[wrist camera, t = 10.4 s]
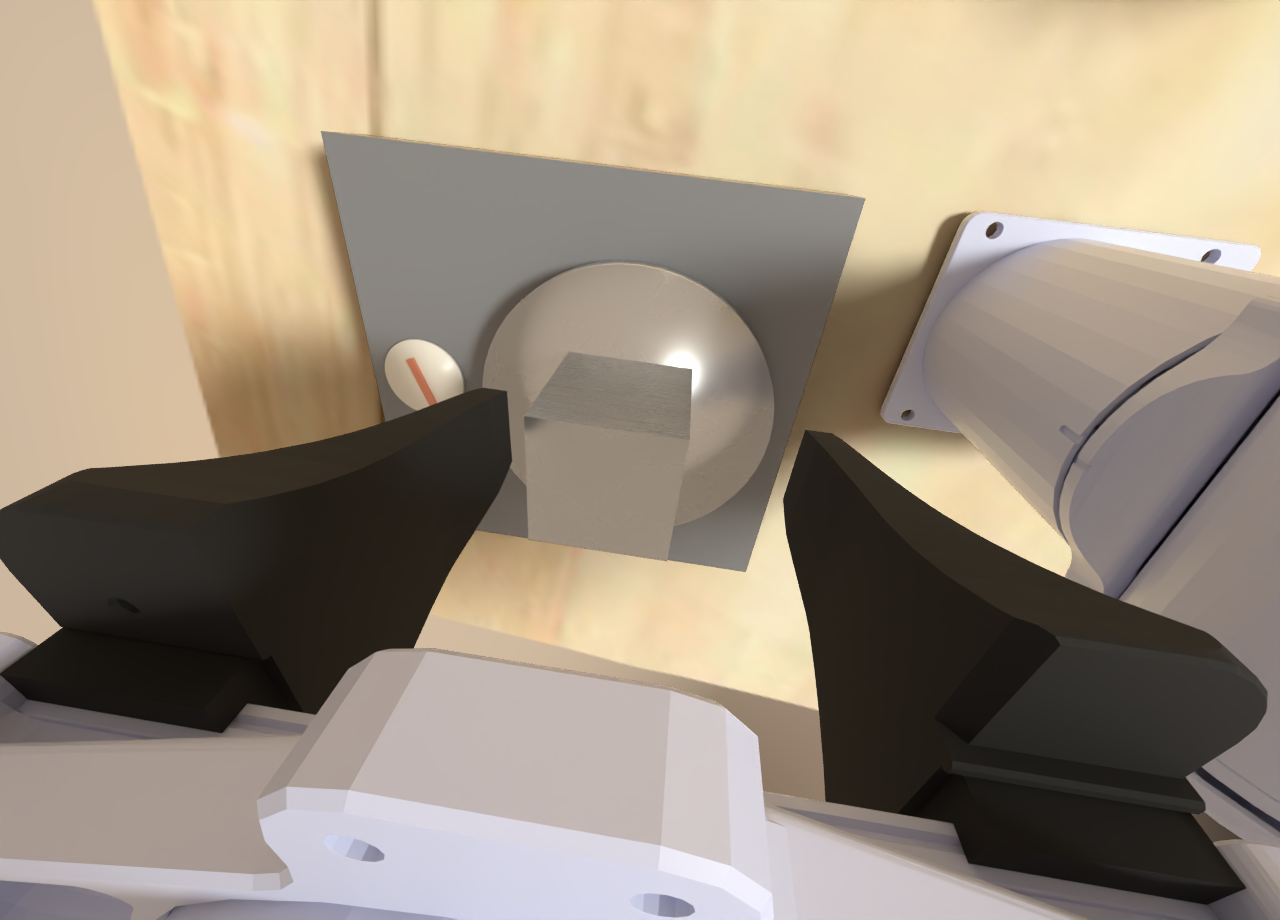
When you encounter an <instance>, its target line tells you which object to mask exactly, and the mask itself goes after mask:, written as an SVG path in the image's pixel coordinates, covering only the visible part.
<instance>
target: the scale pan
mask: <svg viewBox="0 0 1280 920" xmlns="http://www.w3.org/2000/svg"><path fill="white" fill-rule="evenodd" d="M568 352H575V353H582V354H589V355H597V356H604V357H611V358H618V359H625V360H632V361H639V362H647V363H654V364H661V365H668V366H675V367H682V368H690V369H693V373H692V396H691V420H690V441H689V446H688V452H687V457H686V462H685V468H684V473H683V478H682V484H681V489H680V494H679V500H678V505H677V510H676V516H675V521H674V526H677V525H681V524H684V523H687V522H690V521H693V520H695V519H697V518H700V517H702V516H704V515H706V514H708V513H710V512H712V511H713V510H715V509H717V508H718V507H720V506H722V505H723V504H724V503H725V502H727V501H728V500H729V499H730V498H732V497H733V496H734V495H735V494H736V493H737V492H738V491H739V490H740V489H741V488H742V487H743V486H744V485H745V484H746V483H747V481H748V480H749V479H750V477H751V476H752V475H753V473H754V472H755V471H756V469H757V467H758V465H759V464H760V462H761V460H762V458H763V456H764V454H765V451H766V448H767V446H768V443H769V440H770V436H771V431H772V427H773V419H774V395H773V386H772V382H771V377H770V373H769V369H768V366H767V363H766V360H765V357H764V355H763V352H762V350H761V347H760V345H759V342H758V341H757V339H756V337H755V336H754V334H753V332H752V330H751V329H750V327H749V325H748V324H747V323H746V322H745V320H744V319H743V318H742V317H741V315H740V314H739V313H738V311H737V310H736V309H735V308H734V307H733V306H732V305H731V304H730V303H729V302H727V301H726V300H725V299H724V298H723V297H722V296H721V295H720V294H718V293H717V292H716V291H714V290H713V289H711V288H710V287H709V286H707V285H706V284H704V283H703V282H701V281H699V280H697V279H695V278H693V277H691V276H689V275H687V274H686V273H683V272H681V271H678V270H675V269H672V268H669V267H666V266H664V265H659V264H654V263H649V262H644V261H633V260H611V261H599V262H594V263H590V264H586V265H581V266H578V267H575V268H573V269H570V270H567V271H565V272H562V273H560V274H558V275H556V276H555V277H553V278H551V279H549V280H548V281H546V282H544V283H542V284H541V285H540V286H538V287H537V288H536V289H535V290H533V291H532V292H531V293H530V294H528V295H527V296H526V297H525V298H523V299H522V300H521V301H520V302H519V303H518V304H517V305H516V306H515V307H514V308H513V309H512V311H511V312H510V313H509V314H508V315H507V316H506V318H505V319H504V321H503V322H502V324H501V325H500V327H499V328H498V330H497V332H496V334H495V336H494V338H493V341H492V343H491V345H490V347H489V350H488V354H487V358H486V361H485V365H484V373H483V381H482V388H489V389H497V390H504V391H507V398H508V411H509V425H510V438H511V452H512V463H511V466H510V468H511V469H512V471H513V472H514V473H515V474H516V476H517V477H518V478H519V479H520V480H521V481H522V482H523V483H524V484H525V485H526V460H525V433H524V415H525V414H526V412H527V411H528V410H529V408H530V407H531V405H532V404H533V402H534V401H535V400H536V398H537V397H538V395H539V394H540V392H541V391H542V389H543V388H544V387H545V385H546V384H547V382H548V381H549V379H550V378H551V377H552V375H553V374H554V372H555V371H556V369H557V368H558V367H559V365H560V364H561V362H562V361H563V359H564V358H565V356H566V355H567V354H568Z"/></svg>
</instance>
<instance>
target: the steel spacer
mask: <svg viewBox="0 0 1280 920" xmlns="http://www.w3.org/2000/svg"><path fill="white" fill-rule="evenodd" d="M692 373H693V369H690V368H682V367H675V366H668V365H661V364H654V363H647V362H639V361H632V360H625V359H618V358H611V357H604V356H597V355H589V354H582V353H575V352H568V354H567V355H566V356H565V358H564V359H563V361H562V362H561V364H560V365H559V367H558V368H557V369H556V371H555V372H554V374H553V375H552V377H551V378H550V379H549V381H548V382H547V384H546V385H545V387H544V388H543V389H542V391H541V392H540V394H539V395H538V397H537V398H536V400H535V401H534V402H533V404H532V405H531V407H530V408H529V410H528V411H527V412H526V414H525V415H524V433H525V460H526V486H527V513H528V540H534V541H540V542H547V543H553V544H560V545H566V546H572V547H579V548H585V549H592V550H598V551H605V552H611V553H618V554H624V555H630V556H637V557H643V558H650V559H656V560H663V561H667V558H668V553H669V548H670V542H671V537H672V532H673V526H674V521H675V516H676V510H677V505H678V500H679V494H680V489H681V484H682V478H683V473H684V468H685V462H686V457H687V452H688V446H689V441H690V420H691V396H692Z"/></svg>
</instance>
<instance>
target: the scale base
mask: <svg viewBox="0 0 1280 920" xmlns="http://www.w3.org/2000/svg"><path fill="white" fill-rule="evenodd" d="M321 134H322V138H323V143H324V147H325V152H326V156H327V161H328V165H329V170H330V174H331V179H332V183H333V188H334V192H335V197H336V201H337V206H338V210H339V215H340V219H341V224H342V228H343V233H344V237H345V242H346V246H347V251H348V255H349V260H350V264H351V269H352V273H353V278H354V282H355V287H356V291H357V296H358V300H359V305H360V309H361V314H362V318H363V323H364V327H365V332H366V336H367V341H368V345H369V350H370V354H371V359H372V363H373V368H374V372H375V377H376V381H377V386H378V390H379V395H380V399H381V404H382V408H383V413H384V417H385V422H387V421H390V420H392V419H395V418H398V417H401V416H404V415H407V414H410V413H413V412H415V411H418V410H421V409H423V408H426V407H428V406H431V405H433V404H436V403H439V402H441V401H444V400H446V399H449V398H452V397H454V396H457V395H460V394H462V393H465V392H468V391H471V390H475V389H479V388H482V381H483V373H484V365H485V361H486V358H487V354H488V350H489V347H490V345H491V343H492V341H493V338H494V336H495V334H496V332H497V330H498V328H499V327H500V325H501V324H502V322H503V321H504V319H505V318H506V316H507V315H508V314H509V313H510V312H511V311H512V309H513V308H514V307H515V306H516V305H517V304H518V303H519V302H520V301H521V300H522V299H523V298H525V297H526V296H527V295H528V294H530V293H531V292H532V291H533V290H535V289H536V288H537V287H538V286H540V285H541V284H542V283H544V282H546V281H548V280H549V279H551V278H553V277H555V276H556V275H558V274H560V273H562V272H565V271H567V270H570V269H573V268H575V267H578V266H581V265H586V264H590V263H594V262H599V261H611V260H633V261H644V262H649V263H654V264H659V265H664V266H666V267H669V268H672V269H675V270H678V271H681V272H683V273H686V274H687V275H689V276H691V277H693V278H695V279H697V280H699V281H701V282H703V283H704V284H706V285H707V286H709V287H710V288H711V289H713V290H714V291H716V292H717V293H718V294H720V295H721V296H722V297H723V298H724V299H725V300H726V301H727V302H729V303H730V304H731V305H732V306H733V307H734V308H735V309H736V310H737V311H738V313H739V314H740V315H741V317H742V318H743V319H744V320H745V322H746V323H747V324H748V325H749V327H750V329H751V330H752V332H753V334H754V336H755V337H756V339H757V341H758V342H759V345H760V347H761V350H762V352H763V355H764V357H765V360H766V363H767V366H768V369H769V373H770V377H771V382H772V386H773V395H774V419H773V427H772V431H771V436H770V440H769V443H768V446H767V448H766V451H765V454H764V456H763V458H762V460H761V462H760V464H759V465H758V467H757V469H756V471H755V472H754V473H753V475H752V476H751V477H750V479H749V480H748V481H747V483H746V484H745V485H744V486H743V487H742V488H741V489H740V490H739V491H738V492H737V493H736V494H735V495H734V496H733V497H732V498H730V499H729V500H728V501H727V502H725V503H724V504H723V505H722V506H720V507H718V508H717V509H715V510H713V511H712V512H710V513H708V514H706V515H704V516H702V517H700V518H697V519H695V520H693V521H690V522H687V523H684V524H681V525H677V526H673V532H672V537H671V542H670V548H669V553H668V558H667V560H672V561H678V562H685V563H691V564H698V565H704V566H711V567H717V568H723V569H730V570H736V571H743V572H746V569H747V566H748V563H749V560H750V557H751V554H752V551H753V548H754V544H755V541H756V538H757V535H758V532H759V529H760V526H761V523H762V520H763V516H764V513H765V510H766V507H767V504H768V501H769V498H770V495H771V491H772V488H773V485H774V482H775V479H776V476H777V473H778V470H779V467H780V463H781V460H782V457H783V454H784V451H785V448H786V445H787V442H788V438H789V435H790V432H791V429H792V426H793V423H794V420H795V417H796V414H797V410H798V407H799V404H800V401H801V398H802V395H803V392H804V389H805V385H806V382H807V379H808V376H809V373H810V370H811V367H812V364H813V361H814V357H815V354H816V351H817V348H818V345H819V342H820V339H821V336H822V332H823V329H824V326H825V323H826V320H827V317H828V314H829V311H830V308H831V304H832V301H833V298H834V295H835V292H836V289H837V286H838V283H839V279H840V276H841V273H842V270H843V267H844V264H845V261H846V258H847V254H848V251H849V248H850V245H851V242H852V239H853V236H854V233H855V230H856V226H857V223H858V220H859V217H860V214H861V211H862V208H863V205H864V201H865V198H861V197H857V196H852V195H848V194H842V193H834V192H826V191H818V190H810V189H802V188H793V187H785V186H777V185H769V184H761V183H753V182H745V181H737V180H729V179H721V178H713V177H704V176H696V175H688V174H680V173H672V172H664V171H656V170H648V169H640V168H632V167H624V166H615V165H607V164H599V163H591V162H583V161H575V160H567V159H559V158H551V157H543V156H535V155H526V154H518V153H510V152H502V151H494V150H486V149H478V148H470V147H462V146H454V145H445V144H437V143H429V142H421V141H413V140H405V139H397V138H389V137H381V136H373V135H363V134H351V133H338V132H325V131H321ZM476 530H478V531H485V532H491V533H498V534H504V535H510V536H517V537H523V538H528V513H527V486H526V485H525V484H524V483H523V482H522V481H521V480H520V479H519V478H518V477H517V476H516V474H515V473H514V472H513V471H512V469H511V468H509V470H508V473H507V475H506V478H505V480H504V482H503V484H502V487H501V489H500V491H499V493H498V495H497V496H496V498H495V500H494V501H493V503H492V505H491V506H490V508H489V509H488V511H487V513H486V514H485V516H484V517H483V519H482V521H481V522H480V524H479V525H478V527H477V528H476Z"/></svg>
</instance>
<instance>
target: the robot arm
mask: <svg viewBox="0 0 1280 920" xmlns="http://www.w3.org/2000/svg"><path fill="white" fill-rule="evenodd" d="M994 222H996V223H997V230H996V231H995V233H994V234H993V235H991V236H990V237H986V229H987V228H988V227H989V225H991V224H992V223H994ZM1208 251H1210V254H1209V256H1208V257H1207V258H1206V259H1205V260H1204V261H1203V262H1201V259H1202V256H1203V255H1204V254H1205V253H1206V252H1208ZM1260 255H1261V250H1260V248H1259V247H1258V246H1255V245H1251V244H1245V243H1237V242H1229V241H1221V240H1213V239H1204V238H1196V237H1188V236H1180V235H1172V234H1164V233H1156V232H1148V231H1140V230H1132V229H1124V228H1115V227H1107V226H1099V225H1091V224H1083V223H1075V222H1067V221H1059V220H1051V219H1043V218H1035V217H1026V216H1018V215H1010V214H1002V213H994V212H986V211H976V212H973V213H971V214H969V215H968V216H967V217H965V218H964V219H963V221H962V222H961V224H960V226H959V228H958V230H957V233H956V235H955V237H954V239H953V242H952V244H951V246H950V249H949V251H948V253H947V256H946V258H945V260H944V263H943V265H942V267H941V270H940V272H939V274H938V277H937V279H936V281H935V284H934V286H933V288H932V291H931V293H930V295H929V298H928V300H927V302H926V305H925V307H924V309H923V312H922V314H921V316H920V319H919V321H918V323H917V326H916V328H915V330H914V333H913V335H912V337H911V340H910V342H909V344H908V347H907V349H906V351H905V354H904V356H903V358H902V361H901V363H900V365H899V368H898V370H897V372H896V375H895V377H894V379H893V382H892V384H891V386H890V389H889V391H888V393H887V396H886V398H885V400H884V403H883V405H882V407H881V411H880V413H881V416H882V418H883V419H884V420H885V421H886V422H887V423H890V424H897V425H904V426H911V427H918V428H925V429H932V430H939V431H946V432H953V433H960V434H963V435H964V436H965V437H966V438H967V439H968V440H969V441H970V442H971V443H972V444H973V445H974V446H975V447H976V448H977V449H978V451H979V452H980V453H981V454H982V455H983V456H984V457H985V458H986V459H987V460H988V461H989V462H990V463H991V464H992V465H993V466H994V467H995V468H996V469H997V470H998V471H999V472H1000V474H1001V475H1002V476H1003V477H1004V478H1005V479H1006V480H1007V481H1008V482H1009V483H1010V484H1011V485H1012V486H1013V487H1014V488H1015V489H1016V490H1017V491H1018V492H1019V493H1020V494H1021V495H1022V496H1023V498H1024V499H1025V500H1026V501H1027V502H1028V503H1029V504H1030V505H1031V506H1032V507H1033V508H1034V509H1035V510H1036V511H1037V512H1038V513H1039V514H1040V515H1041V516H1042V517H1043V518H1044V519H1045V521H1046V522H1047V523H1048V524H1049V525H1050V526H1051V527H1052V528H1053V529H1054V530H1055V531H1056V532H1057V533H1058V534H1059V535H1060V536H1061V537H1062V538H1063V539H1064V540H1065V541H1066V542H1067V544H1068V545H1070V548H1071V550H1072V561H1071V565H1070V567H1069V569H1068V571H1067V573H1066V575H1065V577H1066V578H1065V577H1062V576H1060V575H1058V574H1056V573H1054V572H1051V571H1049V570H1047V569H1045V568H1043V567H1040V566H1038V565H1036V564H1034V563H1032V562H1030V561H1028V560H1026V559H1024V558H1022V557H1020V556H1018V555H1016V554H1014V553H1012V552H1010V551H1008V550H1006V549H1004V548H1002V547H1000V546H998V545H996V544H994V543H992V542H990V541H988V540H986V539H985V538H983V537H981V536H979V535H977V534H975V533H974V532H972V531H970V530H969V529H967V528H965V527H964V526H962V525H960V524H958V523H957V522H955V521H953V520H952V519H950V518H948V517H947V516H945V515H943V514H942V513H940V512H939V511H937V510H936V509H934V508H932V507H931V506H929V505H928V504H927V503H925V502H924V501H922V500H921V499H919V498H918V497H916V496H915V495H914V494H912V493H911V492H909V491H908V490H906V489H905V488H904V487H902V486H901V485H900V484H898V483H897V482H896V481H894V480H893V479H892V478H890V477H889V476H888V475H886V474H885V473H884V472H882V471H881V470H880V469H879V468H877V467H876V466H875V465H874V464H872V463H871V462H870V461H868V460H867V459H866V458H865V457H863V456H862V455H861V454H860V453H858V452H857V451H856V450H855V449H853V448H852V447H851V446H849V445H848V444H847V443H845V442H844V441H843V440H841V439H840V438H838V437H837V436H835V435H833V434H832V433H824V432H816V431H809V430H805V433H804V436H803V439H802V442H801V445H800V448H799V451H798V454H797V458H796V461H795V464H794V467H793V470H792V473H791V476H790V479H789V482H788V486H787V489H786V492H785V495H784V498H783V503H784V517H785V527H786V535H787V539H788V543H789V548H790V552H791V556H792V560H793V564H794V568H795V572H796V576H797V580H798V584H799V588H800V592H801V596H802V600H803V604H804V607H805V611H806V616H807V621H808V626H809V631H810V639H811V646H812V654H813V662H814V669H815V678H816V688H817V697H818V706H819V715H820V728H821V739H822V752H823V764H824V781H825V799H826V802H824V801H818V800H812V799H806V798H800V797H795V796H789V795H783V794H777V793H771V792H765V791H763V789H762V778H761V767H760V757H759V746H758V736H757V735H755V734H754V733H753V732H752V731H751V730H750V729H749V728H747V727H746V726H745V725H744V724H743V723H742V722H740V721H739V720H738V719H737V718H736V717H735V716H734V715H732V714H731V713H730V712H729V711H728V710H727V709H726V708H724V707H723V706H722V705H721V704H720V703H718V702H717V701H714V700H711V699H707V698H705V697H701V696H698V695H695V694H692V693H689V692H686V691H683V690H680V689H677V688H674V687H671V686H665V685H659V684H653V683H646V682H640V681H634V680H628V679H622V678H616V677H609V676H603V675H597V674H591V673H584V672H578V671H572V670H566V669H560V668H553V667H547V666H541V665H535V664H528V663H522V662H516V661H510V660H504V659H497V658H491V657H485V656H478V655H472V654H466V653H460V652H454V651H448V650H441V649H435V648H422V649H413V648H414V646H415V644H416V641H417V639H418V637H419V635H420V633H421V630H422V628H423V626H424V624H425V622H426V619H427V617H428V615H429V613H430V611H431V608H432V606H433V604H434V602H435V600H436V598H437V596H438V594H439V592H440V590H441V588H442V586H443V584H444V582H445V580H446V577H447V576H448V574H449V572H450V570H451V568H452V567H453V565H454V563H455V561H456V560H457V558H458V557H459V555H460V553H461V552H462V550H463V549H464V547H465V546H466V544H467V542H468V541H469V539H470V538H471V536H472V535H473V533H474V531H475V530H476V528H477V527H478V525H479V524H480V522H481V521H482V519H483V517H484V516H485V514H486V513H487V511H488V509H489V508H490V506H491V505H492V503H493V501H494V500H495V498H496V496H497V495H498V493H499V491H500V489H501V487H502V484H503V482H504V480H505V478H506V475H507V473H508V470H509V468H510V466H511V463H512V452H511V438H510V425H509V411H508V398H507V391H504V390H497V389H489V388H479V389H475V390H471V391H468V392H465V393H462V394H460V395H457V396H454V397H452V398H449V399H446V400H444V401H441V402H439V403H436V404H433V405H431V406H428V407H426V408H423V409H421V410H418V411H415V412H413V413H410V414H407V415H404V416H401V417H398V418H395V419H392V420H390V421H387V422H384V423H381V424H378V425H375V426H372V427H369V428H366V429H362V430H359V431H355V432H352V433H348V434H344V435H341V436H337V437H333V438H329V439H325V440H321V441H316V442H312V443H306V444H301V445H296V446H291V447H286V448H280V449H275V450H270V451H265V452H259V453H252V454H245V455H238V456H231V457H224V458H215V459H207V460H200V461H199V460H198V461H189V462H178V463H166V464H151V465H137V466H124V467H111V468H110V467H108V468H90V469H86V470H82V471H79V472H76V473H73V474H71V475H69V476H67V477H65V478H63V479H61V480H59V481H57V482H55V483H53V484H51V485H49V486H47V487H45V488H43V489H41V490H39V491H37V492H34V493H33V494H31V495H28V496H27V497H24V498H22V499H21V500H18V501H16V502H14V503H12V504H10V505H9V506H6V507H4V508H2V509H1V510H0V559H1V560H2V562H4V564H5V566H6V567H7V568H8V569H9V571H10V572H11V573H12V574H13V575H14V576H15V577H16V578H17V579H18V581H19V582H20V583H21V584H22V585H23V586H24V587H25V588H26V589H27V590H28V592H29V593H30V594H31V595H32V596H33V597H34V598H35V599H36V600H37V601H38V602H39V603H40V604H41V606H42V607H43V608H44V609H45V610H46V611H47V612H48V613H49V614H50V615H51V616H52V618H53V619H54V620H55V621H56V622H57V623H58V624H59V625H60V626H61V627H63V628H62V629H60V630H59V631H58V632H56V633H55V634H53V635H52V636H51V637H49V638H48V639H46V640H45V641H44V642H42V643H41V644H40V645H37V644H35V643H34V642H32V641H29V640H28V639H25V638H24V637H21V636H18V635H14V634H11V633H5V632H0V920H1280V277H1275V276H1270V275H1265V274H1260V273H1255V272H1250V271H1251V270H1252V269H1253V267H1254V266H1255V265H1256V264H1257V262H1258V260H1259V258H1260ZM906 410H911V413H910V414H909V415H907V416H905V417H901V414H902V413H903V412H904V411H906ZM1202 812H1205V813H1207V814H1208V815H1209V816H1211V817H1212V818H1213V819H1214V820H1216V821H1217V822H1218V823H1220V824H1221V825H1223V826H1224V827H1226V828H1227V829H1228V830H1230V831H1232V832H1233V833H1234V834H1236V835H1237V836H1239V837H1240V838H1242V839H1243V840H1236V839H1233V840H1224V841H1217V842H1214V843H1213V842H1212V841H1211V840H1210V838H1209V837H1208V836H1207V834H1206V833H1205V832H1204V830H1203V829H1202V828H1201V826H1200V825H1199V824H1198V822H1197V821H1196V820H1195V818H1194V817H1193V816H1192V814H1191V813H1193V814H1200V813H1202Z"/></svg>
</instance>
